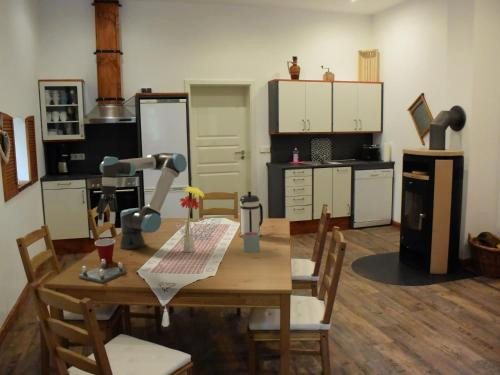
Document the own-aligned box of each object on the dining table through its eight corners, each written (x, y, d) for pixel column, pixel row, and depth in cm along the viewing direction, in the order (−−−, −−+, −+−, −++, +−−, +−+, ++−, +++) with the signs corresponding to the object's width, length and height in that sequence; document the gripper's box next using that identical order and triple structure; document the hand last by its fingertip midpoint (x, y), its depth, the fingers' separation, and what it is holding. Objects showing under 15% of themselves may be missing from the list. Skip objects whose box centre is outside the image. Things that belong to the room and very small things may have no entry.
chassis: (104, 267, 222) (103, 257, 221) (126, 272, 214) (126, 262, 213) (79, 277, 208) (78, 267, 207) (102, 283, 200) (101, 272, 199)
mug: (258, 253, 242) (257, 236, 240) (242, 252, 244) (241, 235, 242) (262, 246, 255) (261, 230, 253) (247, 245, 257) (246, 229, 255)
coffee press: (263, 239, 270) (262, 193, 266) (238, 239, 270) (237, 193, 266) (263, 232, 287) (262, 188, 283) (239, 232, 288) (238, 189, 283)
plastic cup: (95, 266, 224) (93, 244, 222) (96, 260, 234) (94, 239, 233) (116, 264, 227) (115, 242, 225) (117, 258, 237) (115, 237, 236)
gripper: (112, 185, 240) (110, 222, 241) (91, 184, 216) (88, 226, 216) (125, 186, 239) (122, 223, 240) (104, 186, 215) (102, 227, 215)
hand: (106, 224), depth 228 cm, fingers open, 13 cm apart
